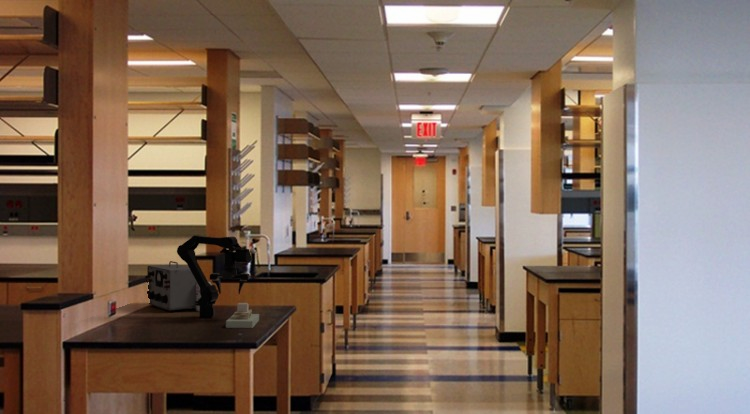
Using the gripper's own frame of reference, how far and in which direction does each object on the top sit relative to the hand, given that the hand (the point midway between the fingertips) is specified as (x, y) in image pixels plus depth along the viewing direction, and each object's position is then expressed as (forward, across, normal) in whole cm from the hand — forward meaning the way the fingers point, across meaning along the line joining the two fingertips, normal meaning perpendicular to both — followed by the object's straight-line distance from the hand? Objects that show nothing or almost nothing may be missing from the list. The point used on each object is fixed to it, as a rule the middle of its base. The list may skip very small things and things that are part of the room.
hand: (229, 294), depth 365 cm
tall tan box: (+9, +9, -15) cm, 20 cm away
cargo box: (+6, +9, -15) cm, 18 cm away
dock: (+12, +9, -15) cm, 21 cm away
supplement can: (+12, -18, +26) cm, 34 cm away
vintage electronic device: (+12, -37, +34) cm, 52 cm away
